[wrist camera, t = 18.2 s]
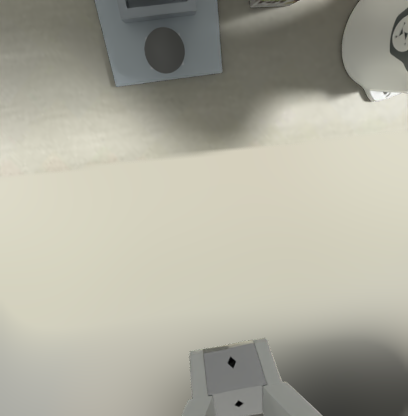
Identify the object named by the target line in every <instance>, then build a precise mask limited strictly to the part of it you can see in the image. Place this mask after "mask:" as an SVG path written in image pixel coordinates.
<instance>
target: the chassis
mask: <svg viewBox="0 0 408 416" xmlns="http://www.w3.org/2000/svg"><path fill="white" fill-rule="evenodd" d="M95 4H96V8H97V12H98V16H99V20H100V24H101V28H102V32H103V36H104V40H105V44H106V48H107V52H108V56H109V60H110V64H111V68H112V72H113V76H114V80H115V84H116V87H119V86H126V85H134V84H141V83H149V82H157V81H164V80H172V79H179V78H187V77H194V76H202V75H209V74H217V73H222V59H221V45H220V31H219V17H218V3H217V0H95ZM160 27H167V28H170V29H172V30H174V31H175V32H176V33H177V34H178V35H179V36H180V37H181V39H182V41H183V44H184V48H185V56H184V60H183V63H182V64H181V66H180V67H179V68H178V69H177V70H176V71H174V72H172V73H167V74H165V73H160V72H158V71H156V70H155V69H153V68H152V67H151V66H150V64H149V63H148V61H147V59H146V56H145V51H144V47H145V41H146V39H147V37H148V35H149V34H150V33H151V32H152V31H153V30H154V29H156V28H160Z"/></svg>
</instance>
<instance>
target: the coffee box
mask: <svg viewBox="0 0 408 416" xmlns="http://www.w3.org/2000/svg"><path fill="white" fill-rule="evenodd" d="M297 1H299V0H250V7H275V6H289V5H291V4H293V3H295V2H297Z"/></svg>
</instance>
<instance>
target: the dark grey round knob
mask: <svg viewBox="0 0 408 416" xmlns="http://www.w3.org/2000/svg"><path fill="white" fill-rule="evenodd" d="M144 51H145V56H146V59H147V61H148V63H149V64H150V66H151V67H152V68H153V69H155V70H156V71H158V72H160V73H165V74H167V73H172V72H174V71H176V70H177V69H178V68H179V67H180V66H181V64H182V63H183V60H184V56H185V48H184V44H183V41H182V39H181V37H180V36H179V35H178V34H177V33H176V32H175V31H174V30H172V29H170V28H167V27H160V28H156V29H154V30H153V31H152V32H151V33H150V34H149V35H148V37H147V39H146V41H145V47H144Z"/></svg>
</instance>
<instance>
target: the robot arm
mask: <svg viewBox="0 0 408 416" xmlns="http://www.w3.org/2000/svg"><path fill="white" fill-rule="evenodd" d="M342 58H343V63H344V66H345V69H346V71H347V73H348V74H349V76H350V77H351V78H352V79H353V80H354V81H355V82H356V83H358V84H359V85H361V86H362V87H363V88H364V90H365V92H366V94H367V96H368V98H369V99H370V100H371V101H381V100H384V99H387V98H390V97H393V96H396V95H398V94H401V93H408V0H360V1H359V2H358V4H357V5H356V7H355V8H354V10H353V11H352V13H351V15H350V17H349V20H348V22H347V25H346V28H345V31H344V35H343V41H342ZM383 92H384V93H383ZM189 358H190V373H191V388H192V399H190V400H188V402H187V404H186V406H185V408H184V411H183V413H182V415H181V416H248V415H254V414H260V413H263V415H264V416H322V415H321V414H320V413H319V412H318V411H317V410H316V409H315V408H314V407H313V406H312V405H311V404H310V403H308V402H307V401H306V400H305V399H304V398H303V397H302V396H301V395H300V394H299V393H298V392H297V391H296V390H295V389H294V388H293V387H291V386H290V385H289V384H288V383H287V382H282V379H281V377H280V374H279V371H278V368H277V366H276V363H275V360H274V357H273V354H272V351H271V349H270V346H269V343H268V341H267V339H266V338H260V339H255V340H248V341H243V342H238V343H233V344H228V345H223V346H218V347H212V348H206V349H199V350H194V351H190V356H189Z"/></svg>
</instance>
